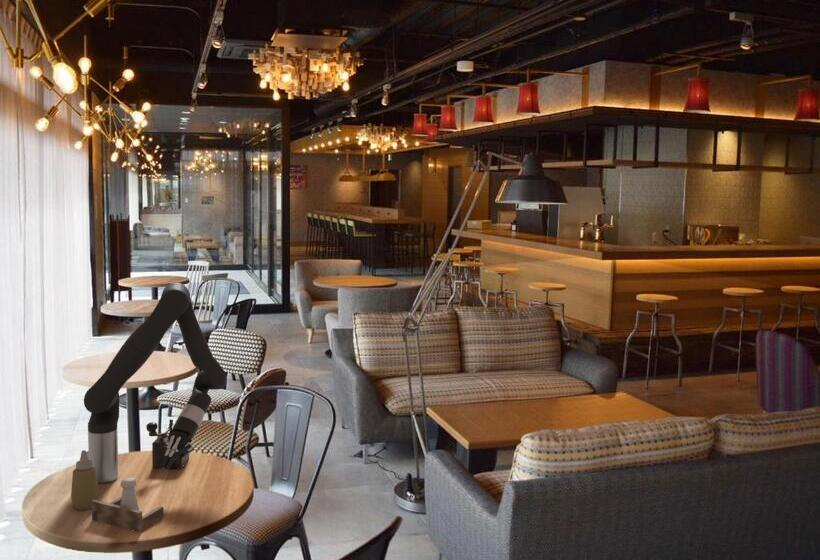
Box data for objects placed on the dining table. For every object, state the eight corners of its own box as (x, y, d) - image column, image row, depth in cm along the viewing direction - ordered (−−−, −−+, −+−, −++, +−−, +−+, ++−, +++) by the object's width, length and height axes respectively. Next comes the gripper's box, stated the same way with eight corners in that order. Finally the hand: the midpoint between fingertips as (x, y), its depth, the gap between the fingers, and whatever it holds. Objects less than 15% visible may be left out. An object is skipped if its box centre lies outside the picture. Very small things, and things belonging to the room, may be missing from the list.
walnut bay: (92, 520, 223) (91, 501, 222) (119, 505, 234) (119, 487, 233) (139, 532, 217) (139, 513, 216) (165, 516, 227) (165, 498, 226)
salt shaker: (133, 525, 221) (132, 483, 219) (115, 523, 221) (114, 481, 220) (143, 517, 226) (142, 475, 225) (125, 515, 227) (124, 474, 226)
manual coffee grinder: (159, 457, 274) (159, 410, 271) (189, 458, 274) (189, 411, 271) (144, 474, 258) (143, 424, 256) (176, 475, 258) (175, 425, 256)
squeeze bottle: (81, 514, 227) (79, 457, 224) (65, 507, 231) (63, 451, 229) (104, 505, 234) (103, 450, 231) (88, 498, 238) (87, 444, 235)
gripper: (167, 412, 248) (141, 459, 238) (200, 419, 243) (174, 467, 233) (178, 423, 253) (152, 469, 244) (210, 429, 248) (185, 477, 239)
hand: (163, 468), depth 238 cm, fingers closed
